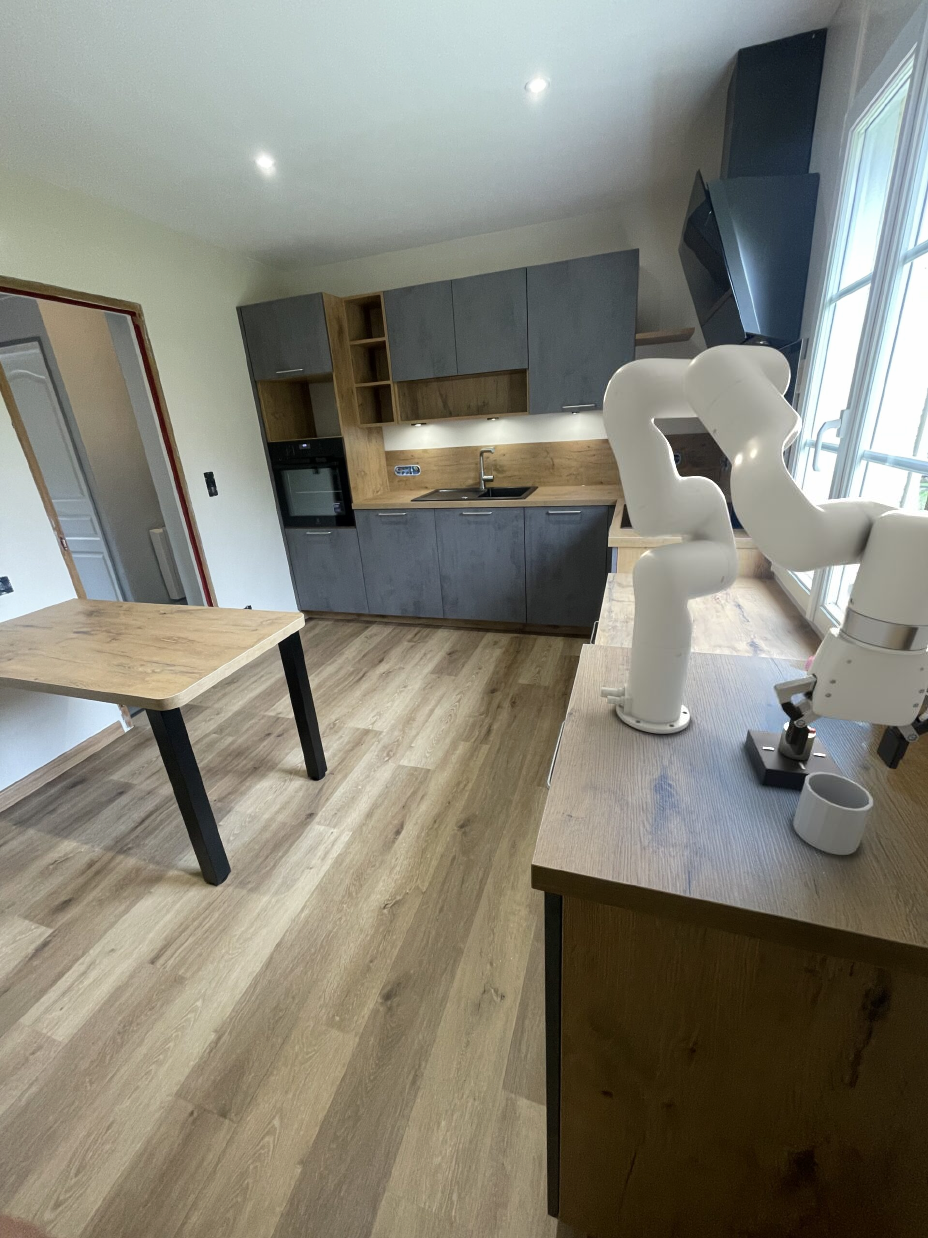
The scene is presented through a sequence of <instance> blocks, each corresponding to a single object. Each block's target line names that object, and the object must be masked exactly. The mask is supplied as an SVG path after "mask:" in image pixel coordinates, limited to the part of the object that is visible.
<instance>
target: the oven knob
mask: <svg viewBox="0 0 928 1238" xmlns="http://www.w3.org/2000/svg"><path fill="white" fill-rule="evenodd" d="M788 725H789V722H785V723H784V724H783V727H782V730H781V733H782V734H781V738H780V742H779V746H778V749H779V751H780V752H781V753H782V754H783V755H785V756H787V757H789V758H792V759H795V760H806V759H808V758H809V757H810V754H811V750H812V746H813V743H814V739H815V737H816V736H817V730H816V729H815V728H814V727H813V728H812V727H810V726H808V728H809V729H810V733H809V736H808V739H807V742H806V745H805V748H804V752H803V754H802V755H801V756H799V755H795V754H794V752H793V750H792V749H791V747H790V745H789V744H787V742H786V739H785V735H786V732H787V728H788Z"/></svg>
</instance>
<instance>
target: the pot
mask: <svg viewBox="0 0 928 1238" xmlns="http://www.w3.org/2000/svg"><path fill="white" fill-rule="evenodd" d="M873 807H874V798H873V797H872V795H871V794H870V793H869V791H868V790H867V789H866V788H864V787H863V786H862V785H861V784H860V783H857V782H856V781H853V780H851V779H849V778H847V777H846V776H845V777H842V776H839V775H836V774H832V773H825V772H817V773H811V774H809V775H808V776H806V778H805V781H804V785H803V788H802V790H801V791H800V795H799V799H798V802H797V807H796V809H795V813H794V816H793V821H792V825H793V828H794V830H795V832H796V834H797V835H798V836H799V837H800V838H801V839H802V840H803V841H804V842H806V843H807V844H809V845H810V846H811V847H814V848H815V849H817V850H820V851H821V852H825V853H827V854H832V855H838V856H846V855H852V854H853V853H855V852H856V851H857V849H858V847H859V846H860V843H861V841H862V837H863V835H864V832H865V829H866V826H867V824H868V821H869V818H870V815H871V813H872V809H873Z"/></svg>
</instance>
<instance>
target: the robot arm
mask: <svg viewBox="0 0 928 1238" xmlns="http://www.w3.org/2000/svg"><path fill="white" fill-rule="evenodd" d="M790 381H791V367H790V363H789V361H788V360H787V358H786V357H785V355H784V354H783V353H782V352H781V351H779V350H778V349H776V348H774V347H771V346H767V345H748V344H747V345H745V344H744V345H743V344H723V345H722V344H720V345H715V346H712V347H709V348H707V349H706V350H704V351H702V352H700V353H699V354H698V355H696V356H695V357H694V358H668V357H665V358H664V357H663V358H662V357H655V358H653V357H650V358H641V359H636V360H633V361H630V362H628V363H626V364H624V365H622V366H621V367H620V368H618V369H617V370H616V371H615V372H614V374H613V375H612V377H611V378H610V380H609V382H608V384H607V387H606V390H605V393H604V397H603V405H602V419H603V425H604V430H605V434H606V437H607V440H608V443H609V446H610V448H611V450H612V453H613V455H614V457H615V460H616V464H617V468H618V472H619V478H620V482H621V486H622V487H621V488H622V491H623V496H624V500H625V504H626V509H627V514H628V517H629V521H630V524H631V528H632V530H633V531H634V533H635V534H636V535H637V536H639V537H640V538H645V539H663V538H671V537H677V536H680V538H681V542H674V543H669V544H662V545H659V546H656V547H655V546H654V547H653V548H650V549H647V550H646V551H645V552H643V553H642V554H641V555H640V556H639V557H638V558H637V559H636V561H635V563H634V566H633V569H632V587H633V595H634V596H633V597H634V614H633V615H634V616H633V626H632V627H633V628H632V637H631V638H632V639H631V647H630V657H629V667H628V676H627V682H624V686H623V687H618V688H611V687H605V686H601V687H600V698H605V699H607V701H606V703H607V704H609V705H616V706H615V711H616V714H617V716H618V718H620V720H622V721H623V722H624V723H625V724H627V725H628V726H630V727H632V728H635V729H636V730H640V731H643V732H646V733H651V734H659V735H661V734H663V735H666V734H675V733H679V732H680V731H683V730H685V729H686V728H687V727H688V726H689V724H690V719H691V714H690V711H689V710H688V708H687V707H686V706H685V705H684V704H683V702H684V696H685V691H686V690H685V689H686V683H687V677H688V670H689V665H690V657H691V651H692V644H693V638H694V627H695V626H694V620H693V617H692V615H691V612H690V610H689V607H688V603H689V601H692V600H696V599H698V598H705V597H708V596H713V595H717V594H720V593H723V592H725V591H727V590H729V589H730V588H731V587H732V586H733V585H734V584H735V582H736V580H737V578H738V576H739V571H740V561H739V559H740V558H739V553H738V548H737V543H736V539H735V535H734V531H733V526H732V522H731V517H730V513H729V508H728V504H727V501H726V498H725V495H724V493H723V492H722V490H721V488H720V487H719V486H718V485H717V484H716V483H715V482H714V481H713V480H711V479H709V478H707V477H704V476H692V475H691V476H680V474H679V472H678V470H677V467H676V463H675V459H674V453H673V449H672V447H671V445H670V443H669V441H668V440H667V438H666V437H665V435H664V434H663V433H662V431H660V429H659V428H658V427H657V426H656V425H655V423H654V419H675V418H676V419H681V418H698V419H699V420H700V422H701V423H702V424H703V426H704V428H705V429H706V430H707V432H708V433H709V434H710V436H711V437H712V438H713V439H714V441H715V442H716V444H717V445H718V446H719V448H720V450H721V451H722V453H723V454H724V455H725V456H726V458H727V459H728V461H729V462H730V464H731V471H730V477H729V478H730V479H729V482H730V484H729V485H730V498H731V503H732V507H733V511H734V513H735V516H736V518H737V519H738V522H739V523H740V525H741V526H742V528H743V529H744V531H745V532H746V533H747V535H748V536H749V537H750V540H751V541H752V543H754V545H755V546H756V548H757V549H758V550H759V551H760V552H761V554H762V555H763V556H764V557H765V558H766V559H768V561H770V562H771V563H772V564H773V565H775V566H776V567H777V568H780V569H782V570H785V571H788V572H793V573H807V572H813V571H818V570H823V569H828V568H832V567H841V566H850V565H851V566H852V565H859V566H858V569H857V573H856V575H855V579H854V583H853V585H852V589H851V591H850V595H849V598H848V601H847V603H846V607H845V610H844V613H843V616H842V619H841V623H840V626H839V627H831V628H830V629H829V631H828V632H827V634H826V635H825V636H824V638H823V640H822V641H821V643H820V645H819V646H818V648H817V651H816V652H815V654H814V655H815V656H814V655H813V656H814V658H813V660H812V663H811V665H810V667H809V670H808V672H807V671H806V674H805V676H804V677H800V678H795V679H793V680H789V681H785V682H781V683H777V684H774V685H773V691H774V693H775V697H776V698H777V701H778V704H779V706H780V707H781V709H782V711H783V712H784V714H785V715H786V716H787V717H788V718H789V722H788V723H789V725H788V728H787V732H786V735H785V739H786V742H787V744H789V745H790V747H791V749H792V750H793V752H794V754H795V755H799V756H801V755H802V754H803V752H804V748H805V745H806V742H807V739H808V736H809V733H810V729H809V728H808V727H809V725H810V724H813V723H814V722H815V721H817V720H819V719H821V718H822V717H823V718H827V719H833V720H841V721H849V722H857V723H865V724H873V725H881V726H887V727H886V728H885V729H884V731H883V734H882V736H881V739H880V741H879V743H878V747H877V749H876V754H877V756H878V757H879V758H880V759H881V761H882V762H883V763H884V765H885V766H886V768H888V769H890V770H897V769H898V766H899V763H900V762H901V760H903V759H904V757H905V754H906V752H907V750H908V747H909V745H910V743H915V742H917V741H918V740H919V738H920V737H919V736H921V735H924V734H926V733H928V692H927V691H928V510H923V509H906V508H902V507H899V506H895V505H891V504H888V503H885V502H882V501H878V500H874V499H869V498H865V497H845V498H837V499H826V500H820V501H819V500H818V501H811V500H810V499H809V498H808V497H807V495H806V494H805V493H804V491H803V490H802V489H801V488H800V487H799V485H798V484H797V482H796V481H795V479H794V478H793V477H792V476H791V474H790V472H789V470H788V468H787V466H786V463H785V460H784V452H785V451H786V450H788V448H789V447H791V445H792V444H793V443H794V442H795V440H796V439H797V438H798V436H799V434H800V433H801V430H802V423H803V422H802V418H801V416H800V415H799V413H798V412H797V411H796V410H795V409H794V408H793V406H792V405H791V404H790V403H789V402H788V401H787V399H786V398H785V397H784V395H785V394H786V393H787V392H788V389H789V385H790ZM796 695H802V697H803V698H804V699H802V700H800V701H799V702H797V703H795V704H794V703H793V702H792V697H793V696H796ZM922 706H923V707H924V708H926V709H925V710H924V712H923V713H922V712H921V713H920V710H921V709H922Z"/></svg>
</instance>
